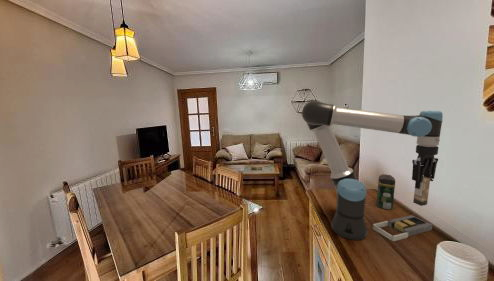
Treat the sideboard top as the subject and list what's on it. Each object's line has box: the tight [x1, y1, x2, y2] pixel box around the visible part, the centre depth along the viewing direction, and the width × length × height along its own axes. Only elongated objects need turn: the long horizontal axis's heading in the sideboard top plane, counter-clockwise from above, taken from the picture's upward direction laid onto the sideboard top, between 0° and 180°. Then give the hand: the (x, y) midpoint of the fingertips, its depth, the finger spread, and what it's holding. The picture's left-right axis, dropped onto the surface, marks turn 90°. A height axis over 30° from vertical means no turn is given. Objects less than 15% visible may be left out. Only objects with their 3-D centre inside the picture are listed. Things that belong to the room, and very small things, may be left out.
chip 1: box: [394, 221, 408, 233], centre depth 94 cm, size 3×4×3 cm
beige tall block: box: [412, 176, 431, 207], centre depth 94 cm, size 4×4×13 cm
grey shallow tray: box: [387, 214, 433, 237], centre depth 96 cm, size 16×9×3 cm, turn 107°
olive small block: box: [402, 219, 416, 228], centre depth 95 cm, size 3×4×3 cm
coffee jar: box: [376, 173, 396, 210], centre depth 116 cm, size 10×8×19 cm
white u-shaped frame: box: [371, 220, 409, 242], centre depth 92 cm, size 9×10×2 cm
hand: (421, 194), depth 95 cm, fingers closed on beige tall block, 4 cm apart
